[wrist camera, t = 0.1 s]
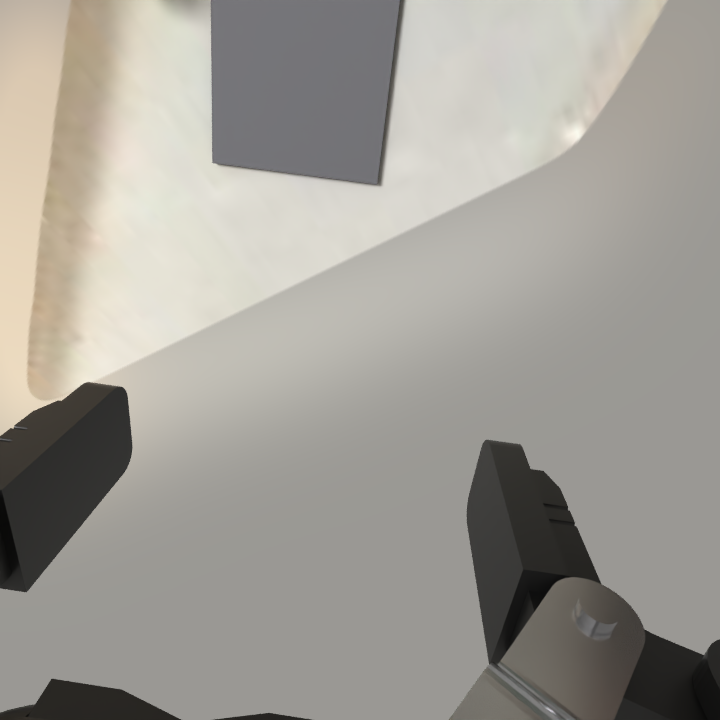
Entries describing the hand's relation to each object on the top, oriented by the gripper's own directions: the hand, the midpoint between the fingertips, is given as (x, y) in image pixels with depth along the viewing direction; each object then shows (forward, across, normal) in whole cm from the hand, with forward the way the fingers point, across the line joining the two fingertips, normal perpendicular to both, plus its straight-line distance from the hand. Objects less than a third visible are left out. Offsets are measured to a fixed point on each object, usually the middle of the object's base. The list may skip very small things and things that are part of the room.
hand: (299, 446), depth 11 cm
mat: (+29, +6, -13) cm, 33 cm away
